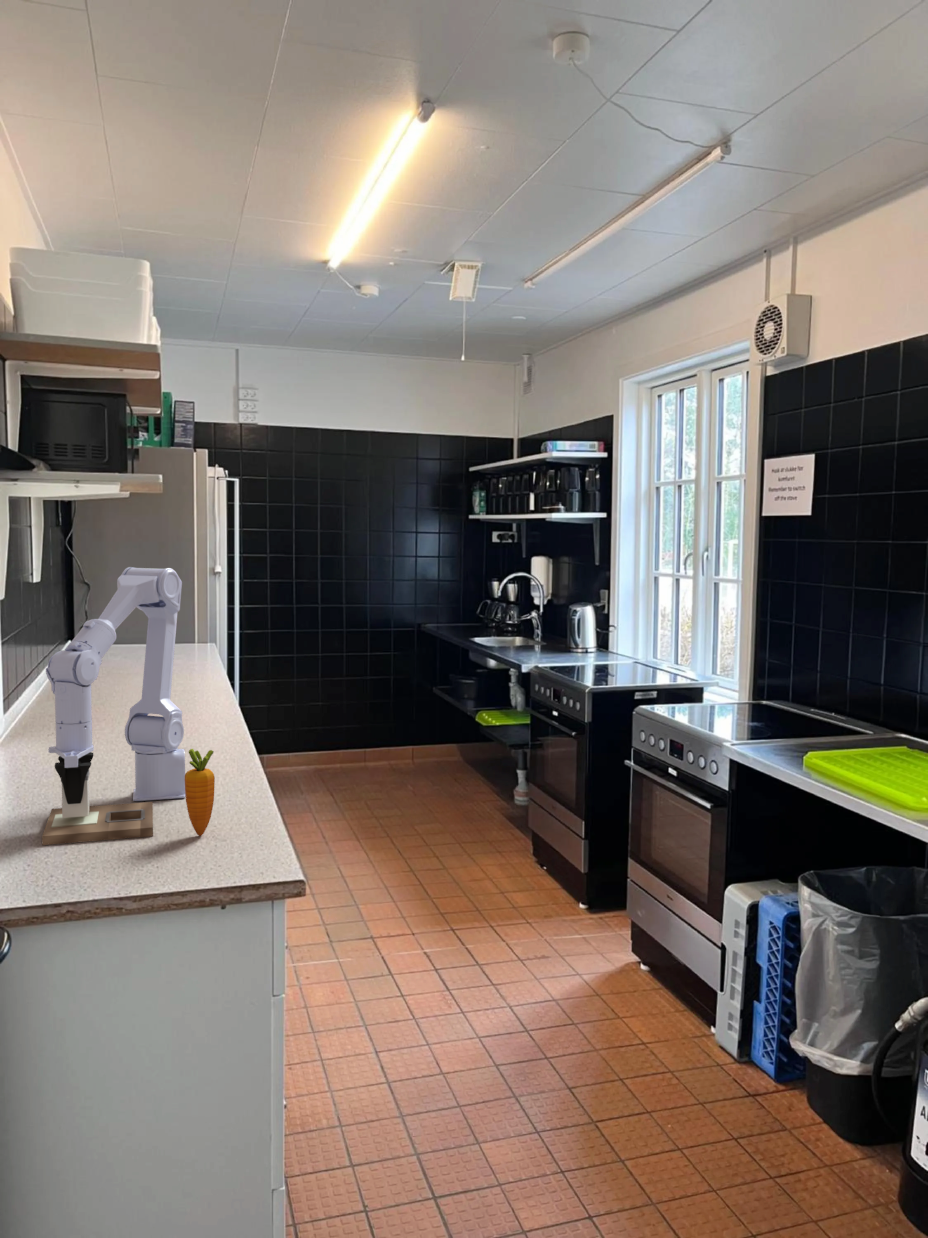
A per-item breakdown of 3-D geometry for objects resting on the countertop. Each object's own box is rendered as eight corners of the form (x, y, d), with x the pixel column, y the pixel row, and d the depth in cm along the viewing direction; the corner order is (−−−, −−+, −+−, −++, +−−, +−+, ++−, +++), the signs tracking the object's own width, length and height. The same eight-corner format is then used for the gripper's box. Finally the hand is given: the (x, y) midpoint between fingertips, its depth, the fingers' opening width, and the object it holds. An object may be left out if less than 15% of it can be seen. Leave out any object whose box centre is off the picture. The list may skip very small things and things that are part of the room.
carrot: (218, 831, 160) (217, 745, 159) (211, 840, 155) (210, 751, 154) (189, 831, 160) (188, 744, 159) (181, 840, 155) (180, 751, 154)
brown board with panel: (152, 809, 172) (152, 800, 172) (153, 836, 157) (152, 826, 157) (52, 817, 167) (51, 807, 167) (42, 845, 152) (42, 835, 151)
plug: (90, 809, 163) (89, 769, 162) (88, 816, 159) (87, 775, 158) (63, 811, 162) (63, 771, 161) (61, 818, 158) (60, 777, 157)
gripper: (52, 714, 165) (54, 790, 166) (43, 730, 151) (45, 813, 152) (95, 712, 167) (96, 787, 168) (90, 728, 153) (92, 810, 154)
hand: (75, 799), depth 160 cm, fingers closed on plug, 4 cm apart
